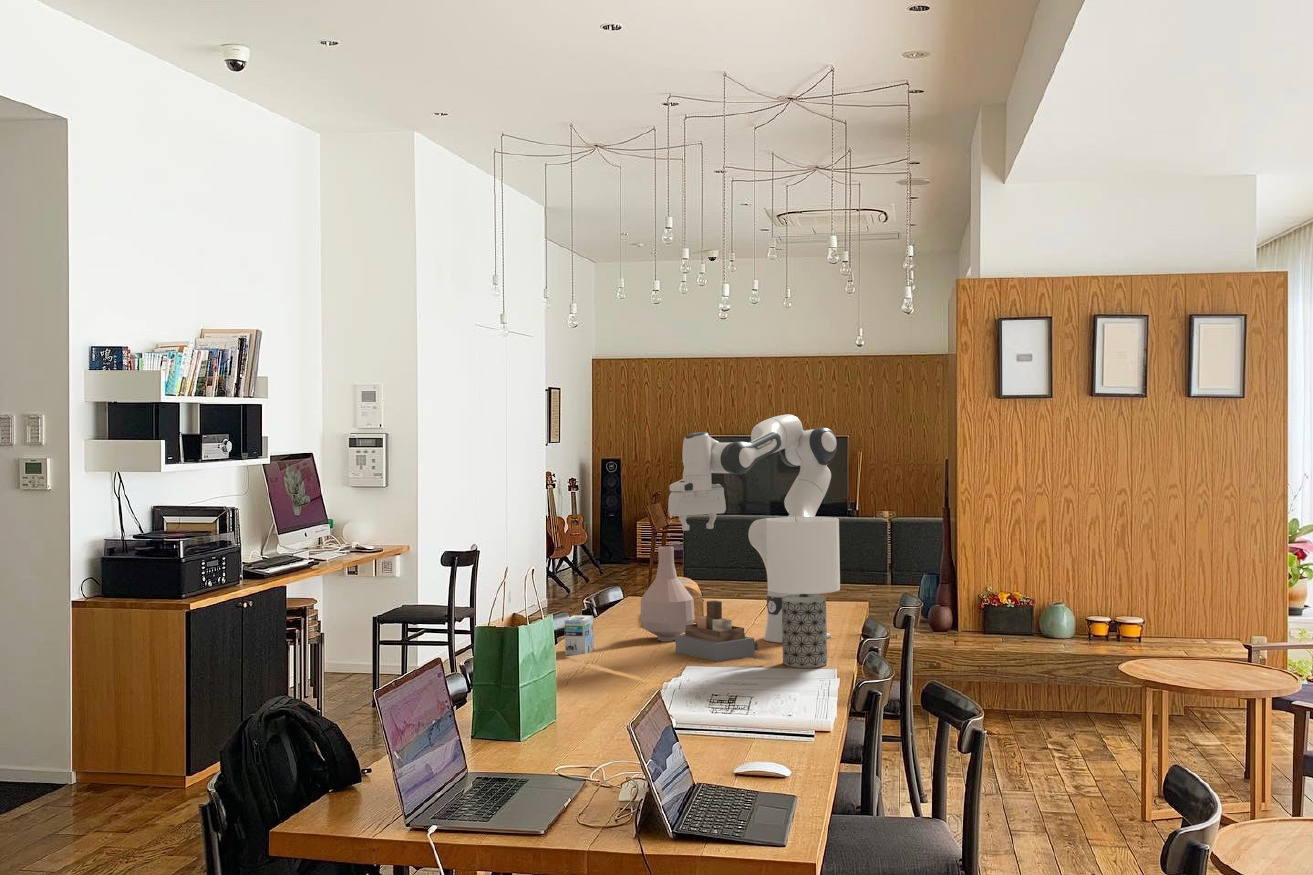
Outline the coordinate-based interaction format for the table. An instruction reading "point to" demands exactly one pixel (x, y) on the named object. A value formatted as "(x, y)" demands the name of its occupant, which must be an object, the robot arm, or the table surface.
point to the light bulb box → (579, 635)
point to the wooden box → (694, 596)
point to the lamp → (803, 583)
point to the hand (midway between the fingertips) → (698, 529)
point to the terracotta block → (702, 622)
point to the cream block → (722, 624)
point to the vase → (666, 601)
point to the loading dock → (716, 648)
